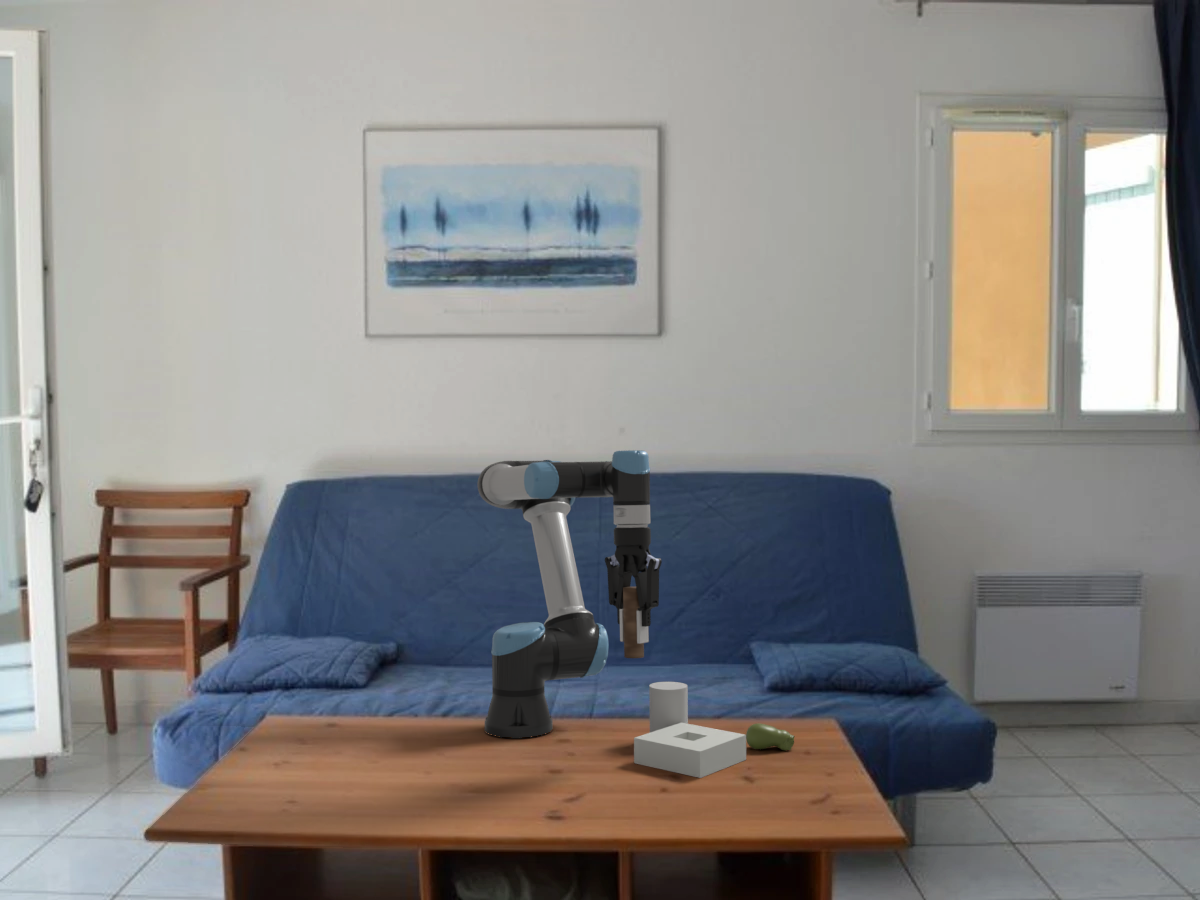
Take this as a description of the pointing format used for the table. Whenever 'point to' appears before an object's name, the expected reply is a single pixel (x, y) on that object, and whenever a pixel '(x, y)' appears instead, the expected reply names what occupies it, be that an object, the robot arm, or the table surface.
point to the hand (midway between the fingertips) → (634, 641)
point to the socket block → (690, 749)
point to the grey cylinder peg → (667, 704)
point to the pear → (768, 737)
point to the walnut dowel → (631, 624)
